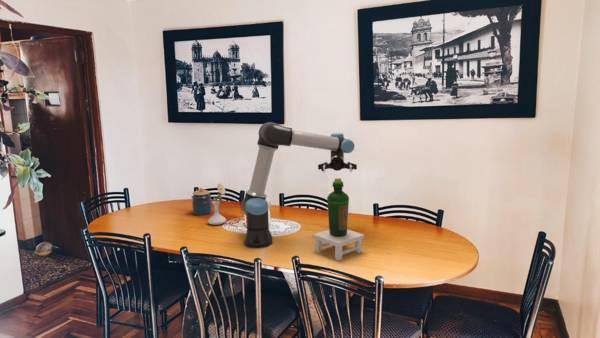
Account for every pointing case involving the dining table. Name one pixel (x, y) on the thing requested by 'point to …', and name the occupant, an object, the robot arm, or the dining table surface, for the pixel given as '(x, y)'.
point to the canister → (201, 202)
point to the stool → (338, 242)
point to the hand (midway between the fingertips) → (337, 169)
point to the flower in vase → (217, 217)
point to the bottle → (338, 210)
